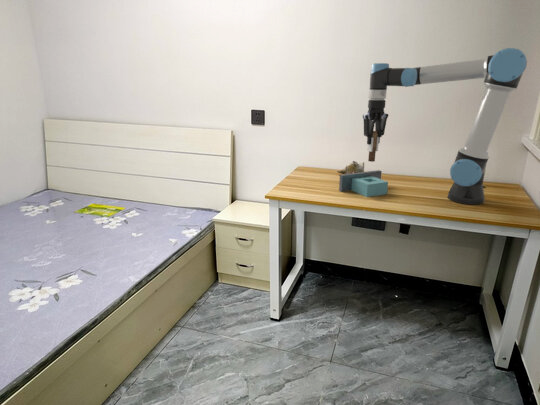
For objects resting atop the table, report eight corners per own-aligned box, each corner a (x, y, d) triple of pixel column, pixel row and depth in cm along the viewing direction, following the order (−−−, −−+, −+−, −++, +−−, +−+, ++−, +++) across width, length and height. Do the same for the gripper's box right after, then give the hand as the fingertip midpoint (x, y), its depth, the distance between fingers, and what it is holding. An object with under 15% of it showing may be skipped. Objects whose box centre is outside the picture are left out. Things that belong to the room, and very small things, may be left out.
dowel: (376, 161, 186) (378, 131, 182) (370, 161, 185) (373, 131, 181) (371, 160, 189) (374, 130, 184) (366, 160, 188) (369, 131, 183)
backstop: (380, 186, 202) (381, 170, 199) (341, 191, 192) (342, 175, 189) (377, 185, 203) (379, 170, 201) (338, 190, 194) (339, 174, 191)
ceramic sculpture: (370, 161, 218) (347, 165, 212) (369, 176, 220) (347, 180, 215) (358, 157, 227) (336, 161, 221) (358, 172, 230) (336, 176, 224)
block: (386, 194, 189) (388, 181, 187) (366, 197, 184) (367, 184, 182) (371, 187, 199) (372, 176, 197) (351, 190, 194) (352, 178, 193)
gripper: (368, 100, 172) (364, 153, 179) (396, 99, 178) (390, 151, 185) (357, 99, 178) (354, 150, 185) (384, 98, 184) (380, 148, 192)
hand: (372, 150), depth 185 cm, fingers closed on dowel, 2 cm apart
